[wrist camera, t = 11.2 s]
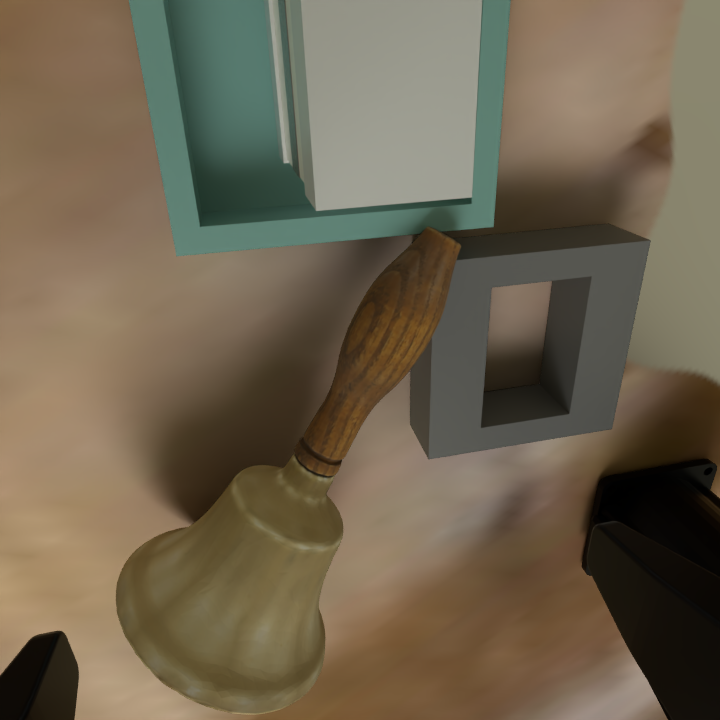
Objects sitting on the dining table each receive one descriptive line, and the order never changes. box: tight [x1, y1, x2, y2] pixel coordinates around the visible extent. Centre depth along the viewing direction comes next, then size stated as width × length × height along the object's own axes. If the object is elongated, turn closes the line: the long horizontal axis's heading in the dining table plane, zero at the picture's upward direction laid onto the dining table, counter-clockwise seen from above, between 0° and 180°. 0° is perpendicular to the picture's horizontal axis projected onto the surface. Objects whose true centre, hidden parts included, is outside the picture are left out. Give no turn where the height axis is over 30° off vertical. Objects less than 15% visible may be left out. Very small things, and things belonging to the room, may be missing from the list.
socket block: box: [410, 224, 650, 459], centre depth 22 cm, size 8×8×2 cm
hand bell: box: [116, 226, 461, 714], centre depth 20 cm, size 8×8×16 cm
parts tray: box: [129, 0, 511, 256], centre depth 16 cm, size 10×10×2 cm
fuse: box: [264, 0, 482, 211], centre depth 14 cm, size 3×5×8 cm, turn 2°
